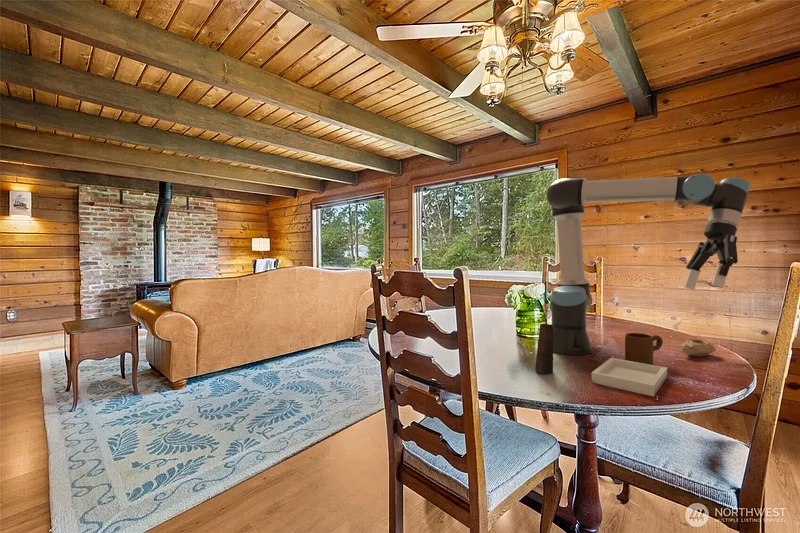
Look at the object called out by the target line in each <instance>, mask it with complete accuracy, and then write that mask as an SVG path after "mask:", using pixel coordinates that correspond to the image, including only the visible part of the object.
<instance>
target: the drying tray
mask: <svg viewBox="0 0 800 533" xmlns="http://www.w3.org/2000/svg"><path fill="white" fill-rule="evenodd" d="M667 378H668V367H665V366H661V365H660V366H659V365H654V364H653V365H650V364H644V363H638V362H633V361H627V360H625V359H620V358H615V357H610V358H609V359H606V361H605V362H603V363H602V364H601V365H599V366H597V368H595V369H594V370H593V371H592V372H591V383H593V384H597V385H602V386H606V387H610V388H615V389H619V390H623V391H628V392H632V393H637V394H641V395H646V396H648V397H649V396H650V397H655V396H656V394H657V393H658V391H659V390H660V388H661V387H662V385H663V384H664V382H666V379H667Z"/></svg>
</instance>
